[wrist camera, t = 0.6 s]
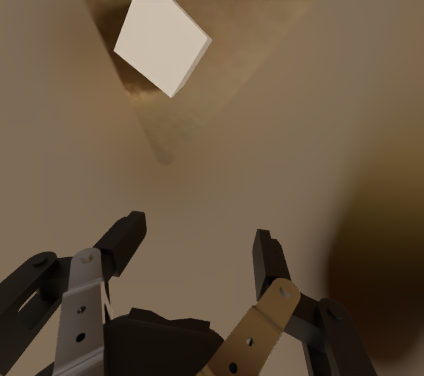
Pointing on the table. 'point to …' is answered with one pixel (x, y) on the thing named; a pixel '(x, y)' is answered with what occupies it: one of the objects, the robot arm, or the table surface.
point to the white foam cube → (161, 43)
